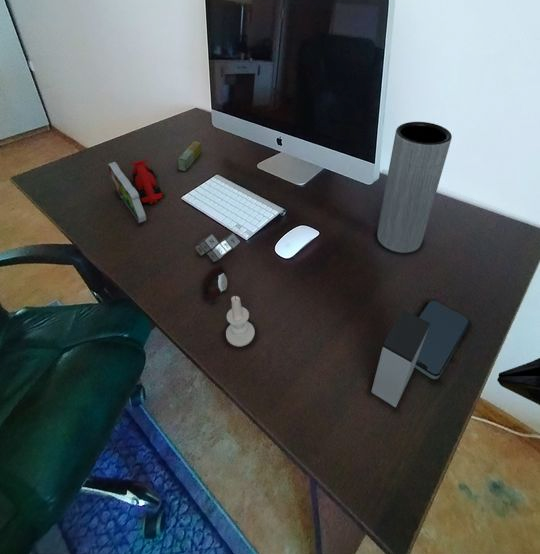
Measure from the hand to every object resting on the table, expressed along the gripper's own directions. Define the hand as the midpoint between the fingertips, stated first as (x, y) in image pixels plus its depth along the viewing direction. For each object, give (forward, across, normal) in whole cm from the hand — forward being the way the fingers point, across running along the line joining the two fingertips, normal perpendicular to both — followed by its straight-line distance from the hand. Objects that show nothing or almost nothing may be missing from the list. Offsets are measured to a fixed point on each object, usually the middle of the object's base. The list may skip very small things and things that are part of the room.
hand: (499, 379), depth 45 cm
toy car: (+74, -13, -54) cm, 92 cm away
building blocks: (+48, -5, -29) cm, 57 cm away
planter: (+26, -33, -7) cm, 43 cm away
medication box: (+74, -31, -55) cm, 98 cm away
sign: (+72, -5, -52) cm, 89 cm away
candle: (+36, +8, -16) cm, 40 cm away
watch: (+44, +2, -24) cm, 50 cm away
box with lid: (+18, 0, +2) cm, 18 cm away
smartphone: (+16, -12, +4) cm, 20 cm away
